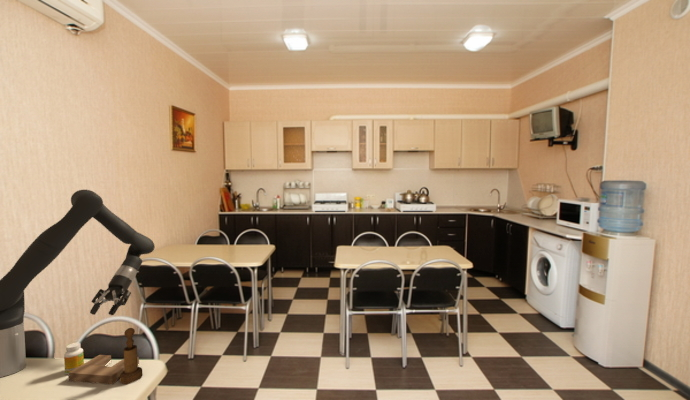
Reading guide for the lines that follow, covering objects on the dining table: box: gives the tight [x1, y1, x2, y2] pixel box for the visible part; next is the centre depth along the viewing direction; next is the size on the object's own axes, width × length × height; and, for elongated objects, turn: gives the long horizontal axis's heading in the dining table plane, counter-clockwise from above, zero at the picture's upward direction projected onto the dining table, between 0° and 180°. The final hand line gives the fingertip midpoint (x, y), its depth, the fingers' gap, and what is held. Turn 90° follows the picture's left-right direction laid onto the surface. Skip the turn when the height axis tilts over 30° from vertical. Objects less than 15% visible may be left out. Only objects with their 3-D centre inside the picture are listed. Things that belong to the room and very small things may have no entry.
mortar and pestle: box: [119, 327, 144, 385], centre depth 111 cm, size 7×6×18 cm
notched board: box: [68, 354, 140, 385], centre depth 115 cm, size 17×12×3 cm
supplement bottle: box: [63, 342, 85, 375], centre depth 117 cm, size 5×5×10 cm
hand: (101, 314), depth 128 cm, fingers open, 8 cm apart
